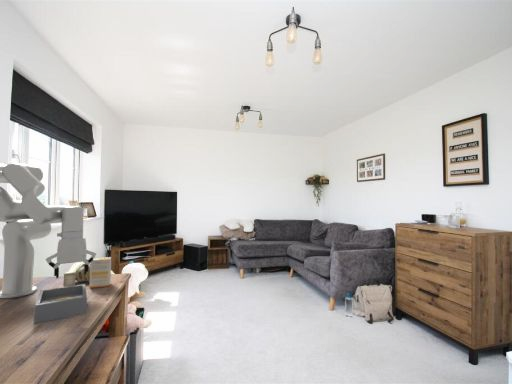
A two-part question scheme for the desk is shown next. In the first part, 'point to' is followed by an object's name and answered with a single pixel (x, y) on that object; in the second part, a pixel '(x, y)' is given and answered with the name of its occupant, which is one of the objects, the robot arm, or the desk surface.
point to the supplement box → (100, 272)
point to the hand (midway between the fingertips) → (71, 275)
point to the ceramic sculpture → (82, 274)
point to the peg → (69, 279)
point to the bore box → (60, 303)
